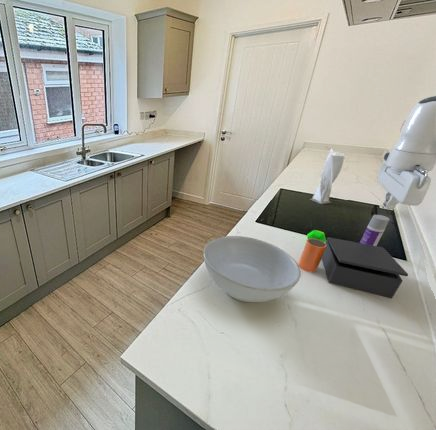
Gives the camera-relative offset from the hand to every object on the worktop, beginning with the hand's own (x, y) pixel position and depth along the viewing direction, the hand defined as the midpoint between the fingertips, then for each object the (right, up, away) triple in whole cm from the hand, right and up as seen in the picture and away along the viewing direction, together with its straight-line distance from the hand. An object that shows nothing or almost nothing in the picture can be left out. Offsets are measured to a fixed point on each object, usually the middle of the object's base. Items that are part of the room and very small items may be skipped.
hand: (387, 207), depth 77 cm
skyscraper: (+34, +6, +68) cm, 76 cm away
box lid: (+1, -16, +9) cm, 18 cm away
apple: (+3, -14, +32) cm, 35 cm away
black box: (+1, -23, +13) cm, 27 cm away
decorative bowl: (-39, -27, +9) cm, 48 cm away
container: (+18, -17, +26) cm, 35 cm away
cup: (-11, -22, +17) cm, 30 cm away
